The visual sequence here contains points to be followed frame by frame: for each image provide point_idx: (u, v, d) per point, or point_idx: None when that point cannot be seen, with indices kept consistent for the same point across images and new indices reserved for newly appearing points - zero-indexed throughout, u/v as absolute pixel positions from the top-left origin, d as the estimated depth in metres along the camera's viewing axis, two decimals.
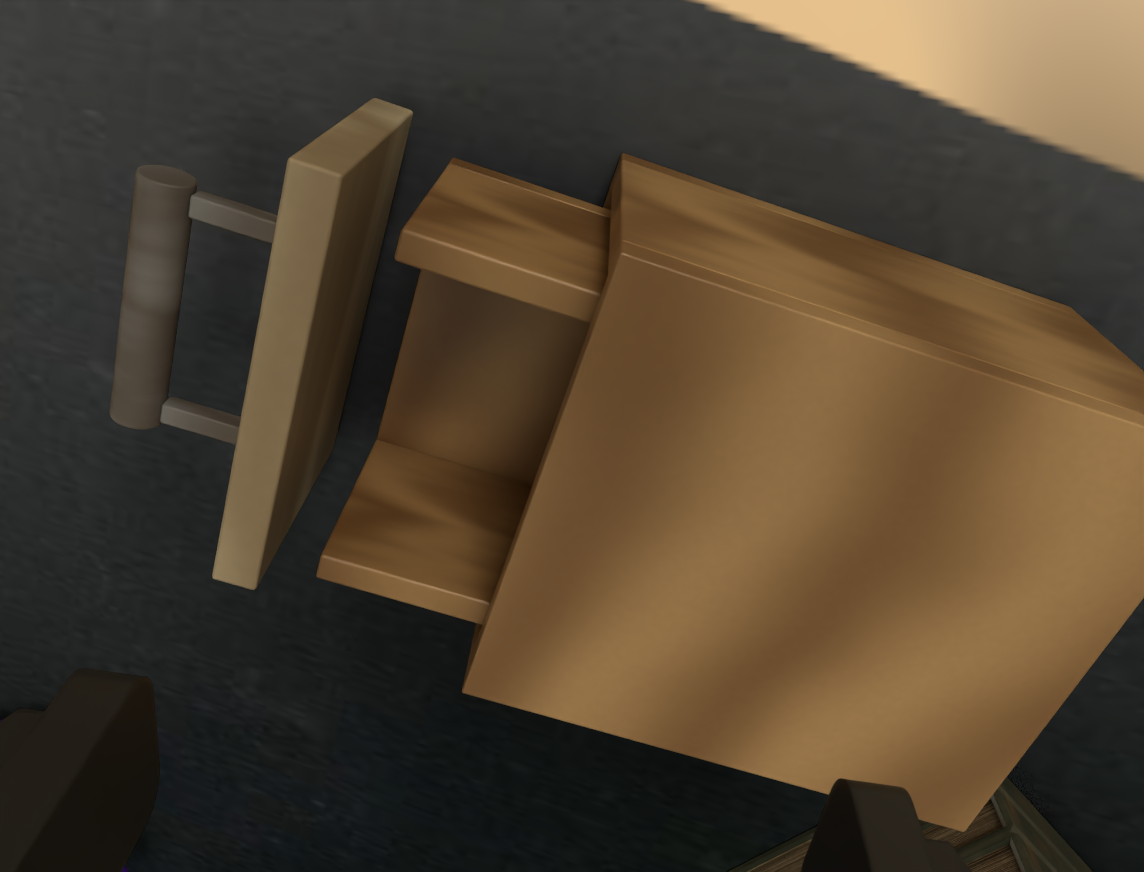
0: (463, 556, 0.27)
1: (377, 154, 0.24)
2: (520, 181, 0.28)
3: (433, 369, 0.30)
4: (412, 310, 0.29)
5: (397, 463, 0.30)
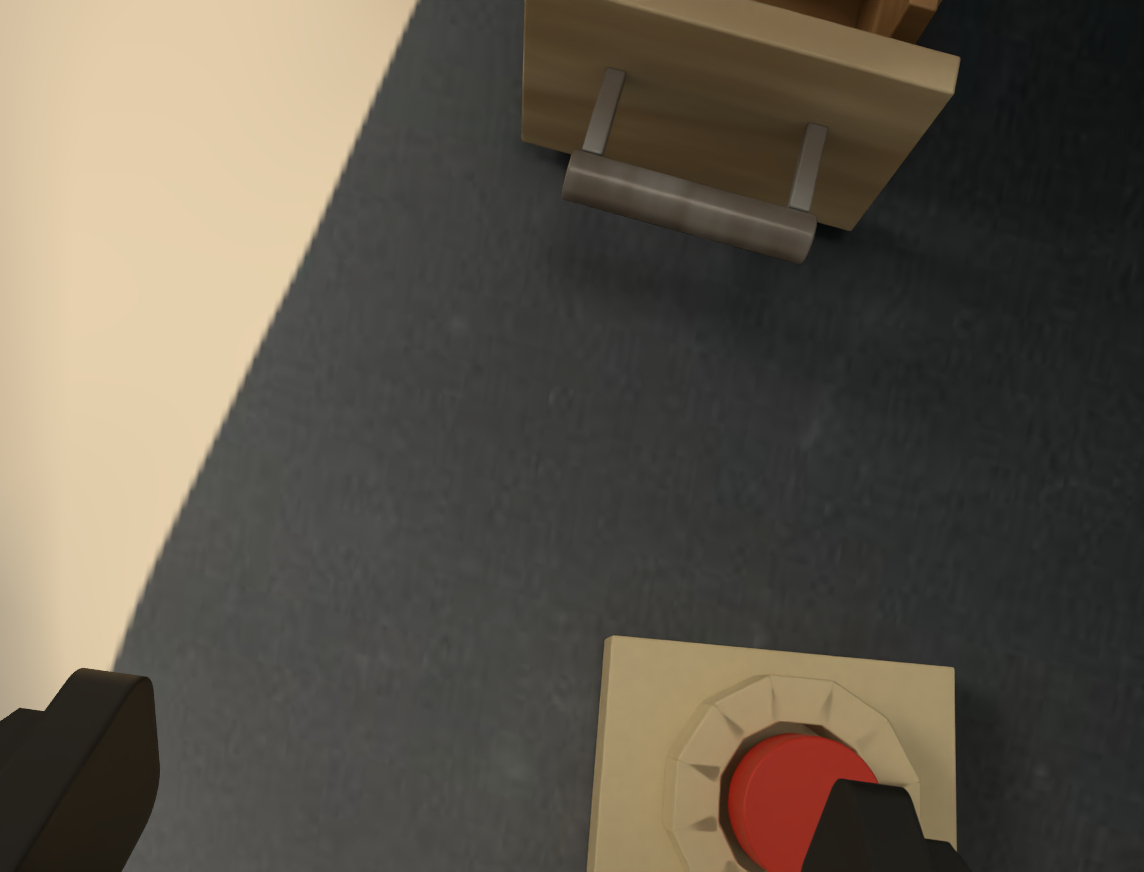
0: None
1: None
2: None
3: None
4: None
5: None
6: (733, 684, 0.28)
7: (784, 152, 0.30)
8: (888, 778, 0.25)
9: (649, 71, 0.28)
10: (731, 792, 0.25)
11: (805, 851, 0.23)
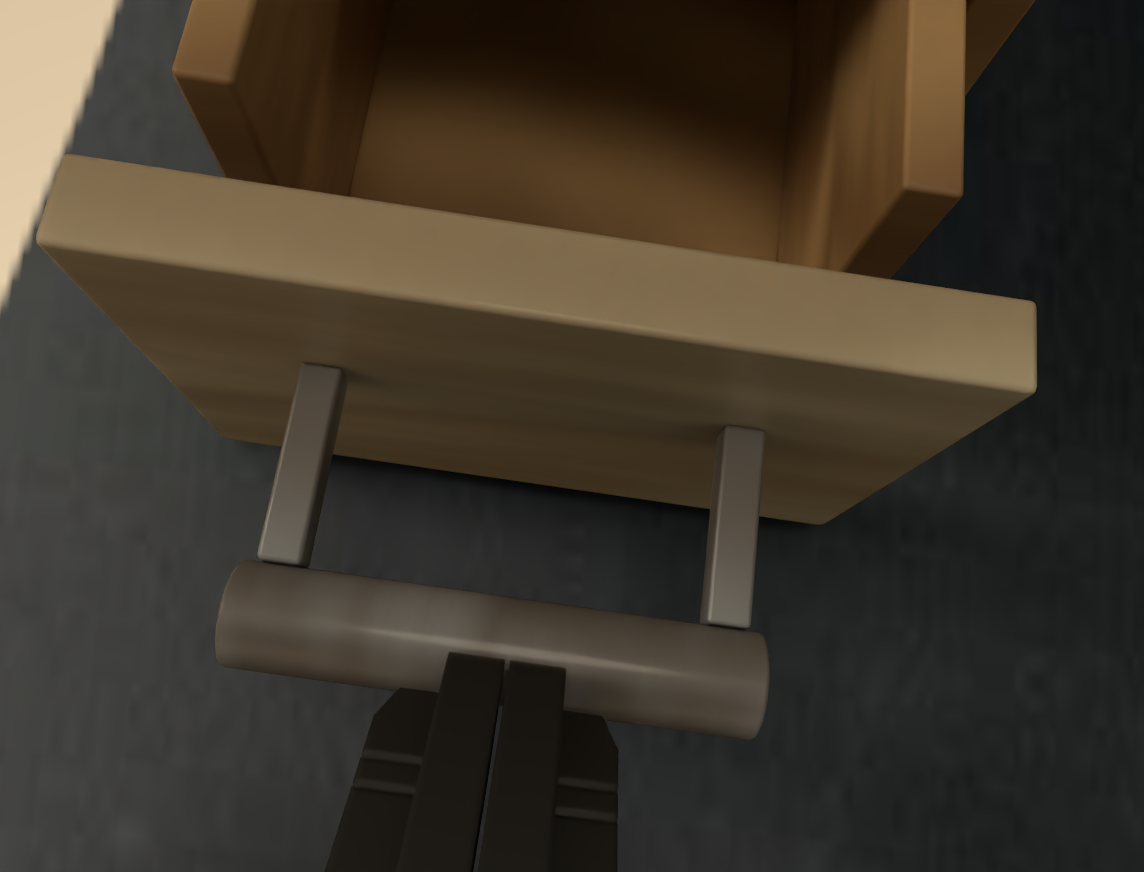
0: (866, 37, 0.15)
1: None
2: None
3: None
4: None
5: None
6: None
7: (686, 455, 0.15)
8: None
9: (385, 367, 0.13)
10: None
11: None
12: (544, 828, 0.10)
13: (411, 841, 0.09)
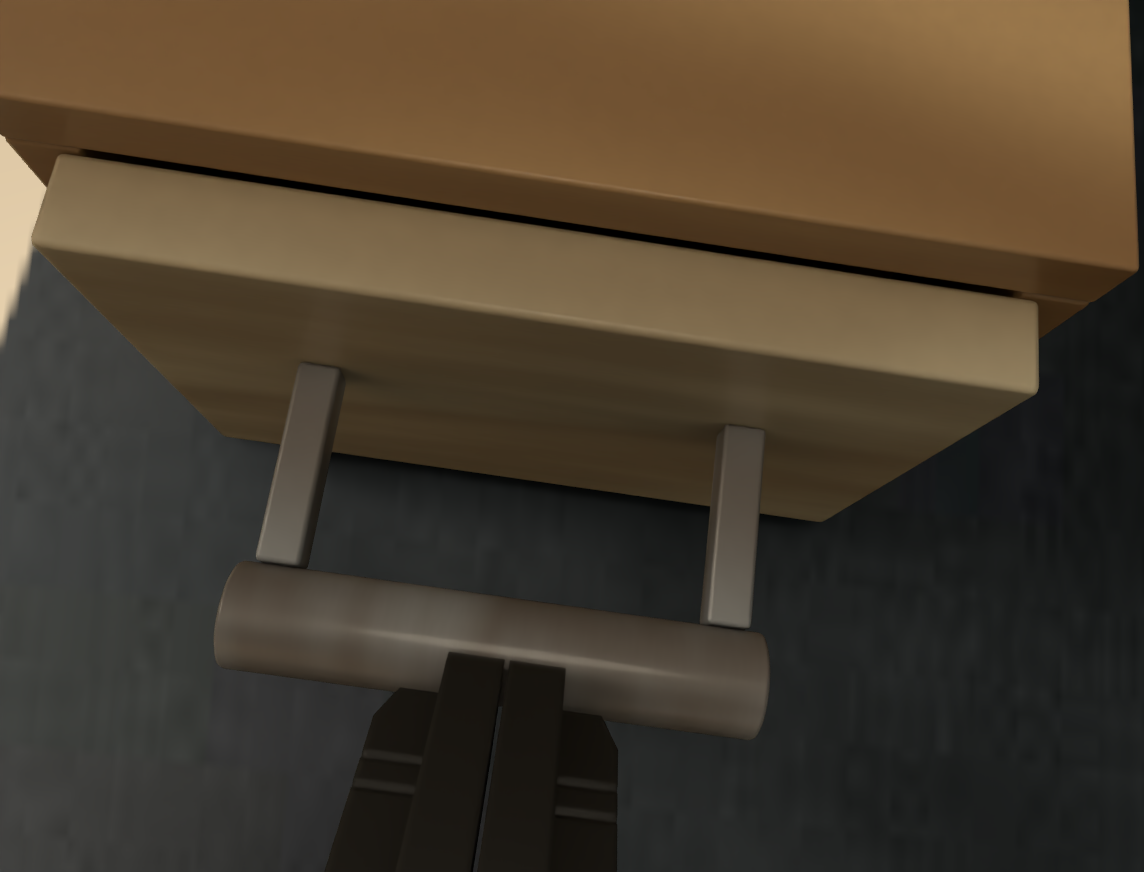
0: None
1: None
2: None
3: None
4: None
5: None
6: None
7: (685, 453, 0.15)
8: None
9: (384, 367, 0.13)
10: None
11: None
12: (544, 828, 0.10)
13: (410, 841, 0.09)
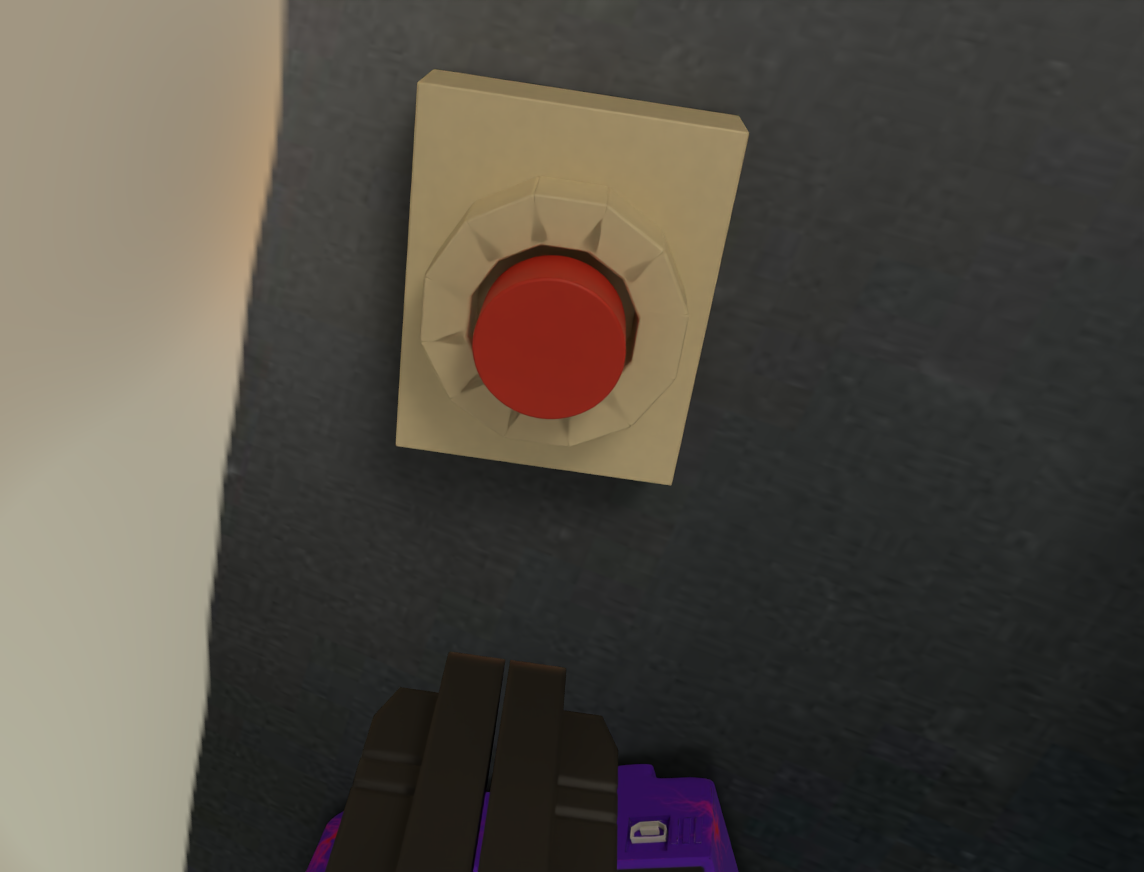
0: None
1: None
2: None
3: None
4: None
5: None
6: (677, 267, 0.25)
7: None
8: (574, 418, 0.25)
9: None
10: (570, 262, 0.23)
11: (511, 337, 0.22)
12: (544, 828, 0.10)
13: (411, 841, 0.09)
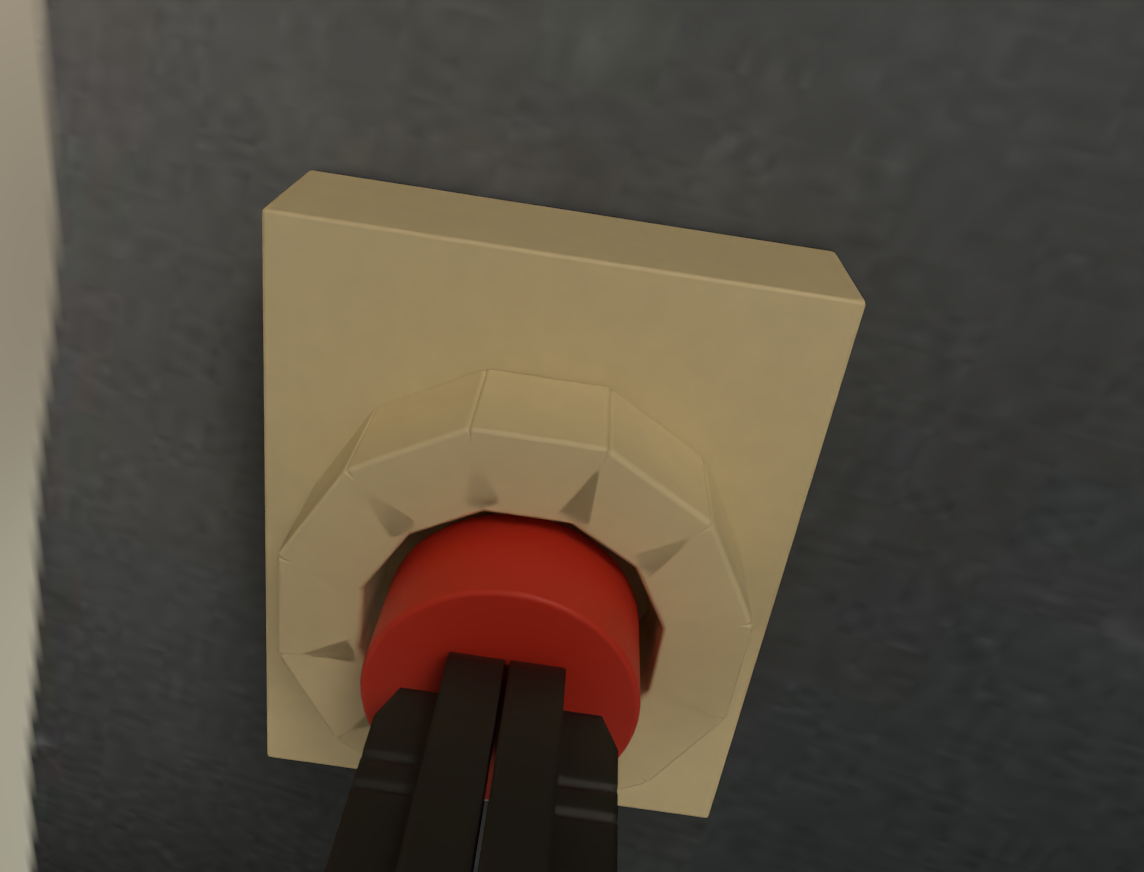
0: None
1: None
2: None
3: None
4: None
5: None
6: (728, 515, 0.14)
7: None
8: None
9: None
10: (540, 534, 0.13)
11: (430, 682, 0.12)
12: (544, 828, 0.10)
13: (410, 841, 0.09)
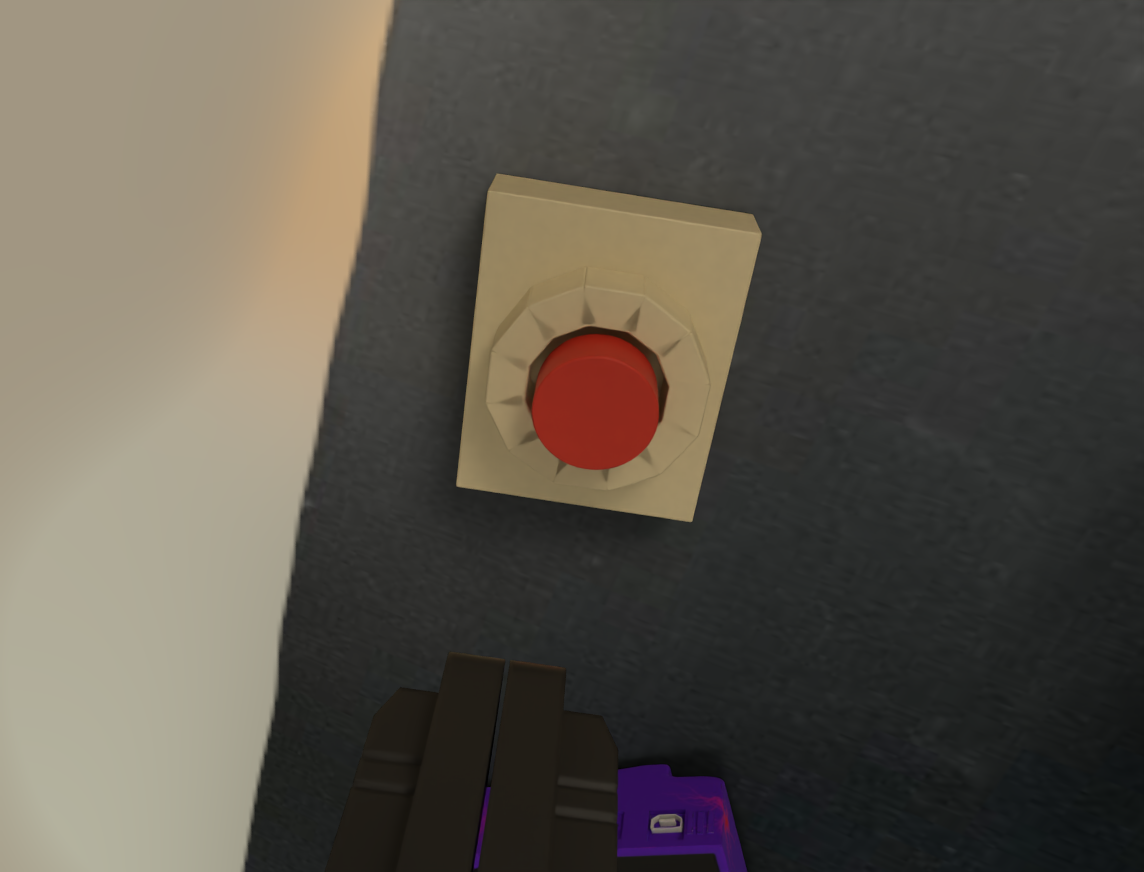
0: None
1: None
2: None
3: None
4: None
5: None
6: (700, 341, 0.30)
7: None
8: None
9: None
10: (613, 340, 0.28)
11: (564, 403, 0.27)
12: (544, 828, 0.10)
13: (411, 841, 0.09)
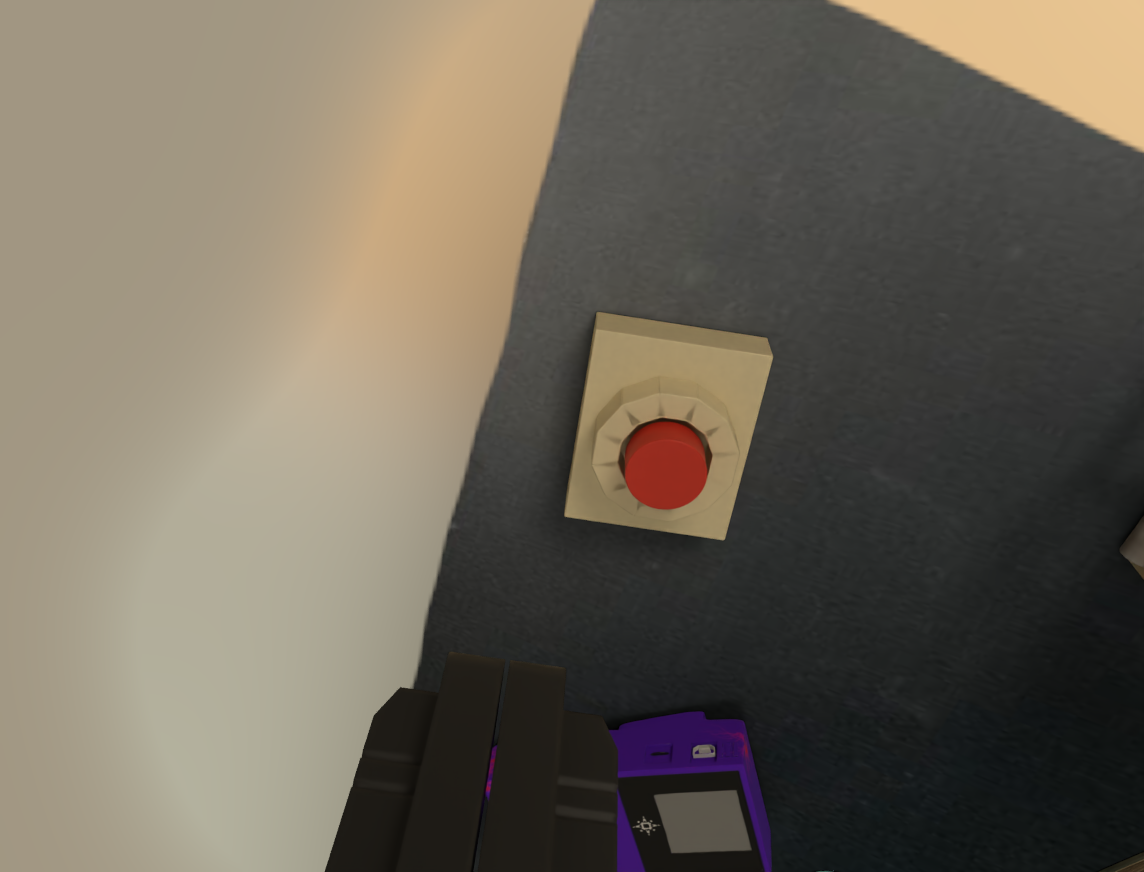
0: None
1: None
2: None
3: None
4: None
5: None
6: (732, 423, 0.45)
7: None
8: None
9: None
10: (677, 426, 0.43)
11: (646, 468, 0.42)
12: (544, 828, 0.10)
13: (410, 841, 0.09)
